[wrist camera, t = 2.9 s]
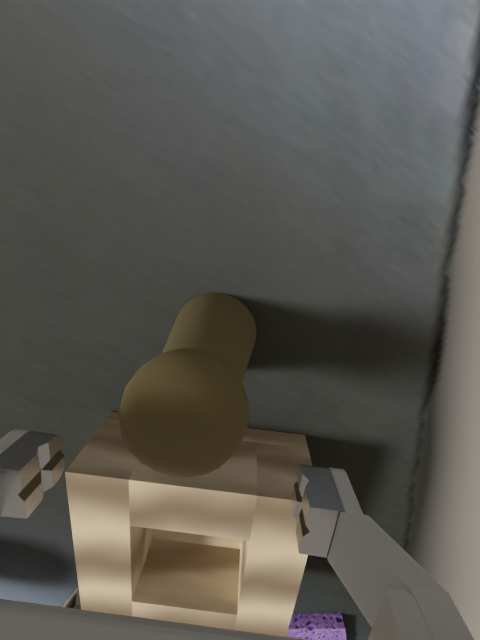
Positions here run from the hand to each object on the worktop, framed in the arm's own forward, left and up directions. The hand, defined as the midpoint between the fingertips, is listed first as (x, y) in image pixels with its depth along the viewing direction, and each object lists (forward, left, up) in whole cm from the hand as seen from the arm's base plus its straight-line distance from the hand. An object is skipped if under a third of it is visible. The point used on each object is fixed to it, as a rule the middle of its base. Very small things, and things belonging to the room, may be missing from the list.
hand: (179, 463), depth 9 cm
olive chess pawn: (0, 0, -12) cm, 12 cm away
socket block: (+16, 0, -12) cm, 19 cm away
